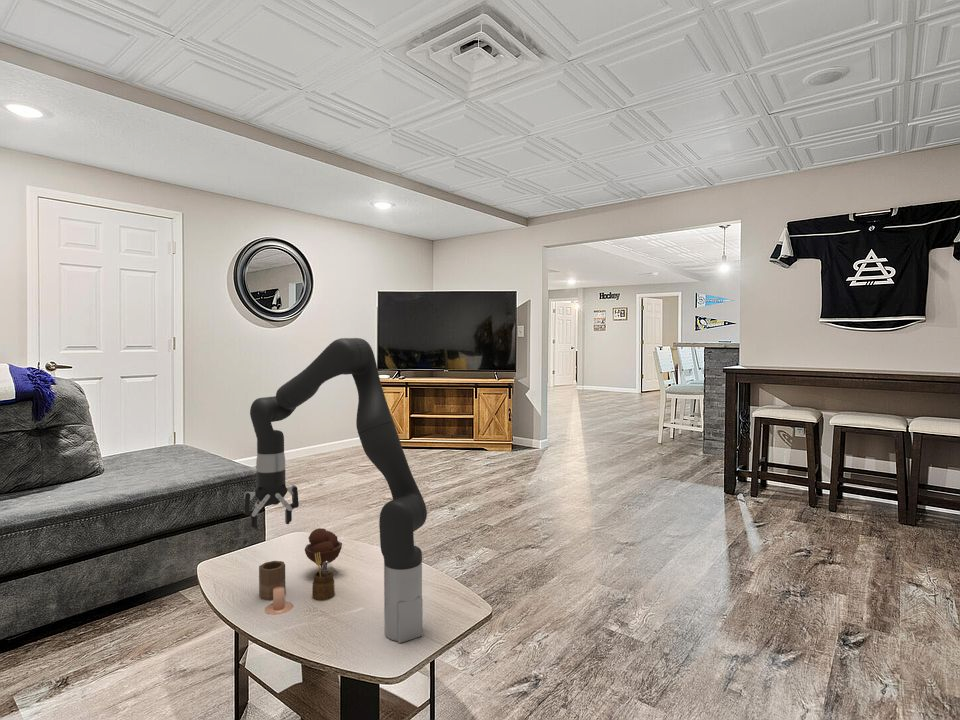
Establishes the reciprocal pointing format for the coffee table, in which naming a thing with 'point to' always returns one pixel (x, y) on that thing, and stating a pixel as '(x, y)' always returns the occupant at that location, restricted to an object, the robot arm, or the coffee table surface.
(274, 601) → the lid
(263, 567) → the canister
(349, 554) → the coffee table surface
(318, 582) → the utensil holder
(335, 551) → the ice cream bowl
